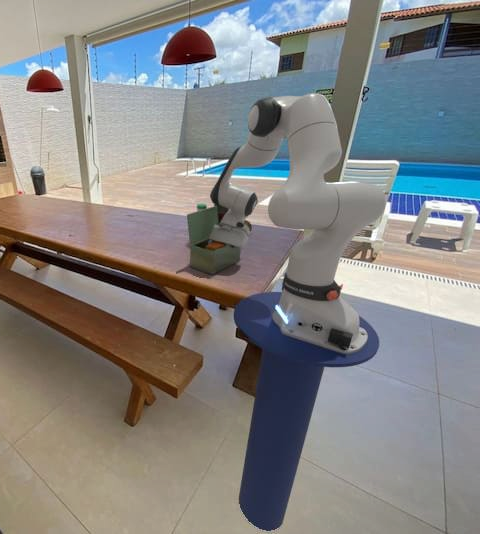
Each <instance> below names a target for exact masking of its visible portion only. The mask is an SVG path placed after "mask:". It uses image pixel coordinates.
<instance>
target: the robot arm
mask: <svg viewBox="0 0 480 534" xmlns="http://www.w3.org/2000/svg"><path fill="white" fill-rule="evenodd" d="M247 126H248V130H249V134H248V137H247V139H246V142H245V143H244V144H243V145H242V146H238V147H236V149H235V150H234V151H233V152H232V154H231V155H230V157H229V158H228V160H227V162H226V164H225V166H224V167H223V169H222V171H221V173H220V175H219V177H218V179H217V181H216V183H215V184H214V185H213V187H212V188H211V190H210V193H209V199H210V200H211V202H212V203H213V205H214V204H216V205H220V206H223V207H226V208H228V212H227V213H226V214H225V215H224V217H223V219H222V220H221V222H220V223H217V225H214V227H213V230H212V231H211V233H210V236H209V238H206V239H210V240H209V242H208V245H209V244H211V243H214V242H216V241H217V242H221V243H225V244H227V245H229V244H231V245H233V246H234V249H238V250H241V251H243V250H244V249H245V248H246V246H247V245H248V242H249V237H250V235H251V232H250V230H249V228H248V227H247V225H246V224H244V220H247V218H248V217H250V215H252V213H253V211H254V210H255V208H256V206H257V204H258V201H259V200H258V196H257V194H256V192H255V191H252V190H250V189H247V188H245V187H242V186H239V185H237V184H234V183H232V182H231V181H230V180H231V178H232V176H233V175H234V173H235V171H236V170H238V169H241V168H242V169H243V168H261V167H264V166H266V165H268V164H269V163H271V162H273V161H274V159H275V158H276V156H277V154H279V151H280V149H281V147H282V145H283V142H284V139H286V143H287V149H288V156H289V172H288V176H287V178H286V180H285V182H284V183H283V184H282V186H280V187H279V188H278V189H276V191H274V193H272V195H271V197H270V199H269V201H268V204H267V205H268V206H267V214H268V217H269V219H270V221H271V223H273V225H274V226H276V227H278V228H284V229H290V230H298V231H299V230H312V231H311V232H310V233H309V234H308V235H307V236H306V237H305V238H303V239H301V240H299V241H298V242H296V243H295V244H294V245H293V246H292V247H291V249H290V250H289V251H290V252H289V257H288V261H287V267H286V272H285V273H284V274H283V279H282V282H281V283H282V284H281V292H282V295H281V298H280V301H279V303H278V306H277V305H276V310H275V311H274V313H273V316H272V317H273V320H274V322H275V323H276V324H277V325H278V326H279V327H280V330H281V333H282V334H284V335H287V336H290V337H293V338H296V339H299V340H302V341H305V342H308V343H312V344H315V345H318V346H321V347H324V348H327V349H330V350H333V351H336V352H340V353H343V354H353V353H356V352H358V351H360V350H361V349H362V348H363V347H364V346H365V344H366V343H367V338H368V335H367V332H366V331H365V329H363V328H361V327H359V324H360V322H359V316H360V315H359V313H358V312H357V310H355V309H354V308H353V307H352V306H351V305H350V304H349V303H347V302H346V301H345V299H344V298H342V297H341V296H340V295H341V291H342V290H343V287H344V283H341V284H340V285H339V284H338V283H337V282H336V280H335V278H336V274H337V271H338V267H339V264H340V260H341V257H342V256H343V254H344V251H345V250H346V248H347V247H348V245H349V244H350V243H351V242H352V241H353V239H354V238H355V237H356V236H357V235H358V234H359V233H360V232H361V231H363V230H364V229H365V228H367V227H368V226H370V225H372V224H373V223H375V222H376V221H378V220H379V219H380V218H381V216H382V215H383V214H384V211H385V210H386V206H387V197H386V194H385V192H384V190H383V189H382V187H381V186H380V185H377V184H373V183H368V182H362V181H361V182H360V181H344V182H343V181H341V182H326V181H325V177H324V176H325V174H326V173H328V172H329V171H331V170H333V169H334V168H335V167H336V166H337V165H338V163H339V162H340V161H341V158H342V156H343V149H342V144H341V138H340V135H339V129H338V124H337V120H336V117H335V115H334V112H333V109H332V106H331V103H330V101H329V100H328V99H327V98H326V96H324V95H323V94H321V93H316V92H313V93H307V94H304V95H283V96H282V95H281V96H274V97H271V96H268V97H264V98H260V99H257V100H256V102H254V103H253V105H252V106H251V108H250V111H249V114H248V120H247ZM206 239H204V240H206ZM227 245H226V246H227Z"/></svg>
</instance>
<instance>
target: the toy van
mask: <svg viewBox="0 0 480 534" xmlns="http://www.w3.org/2000/svg"><path fill="white" fill-rule="evenodd" d="M226 245H227V244H225V243H221V242H217V241H216V242H214V243H211V244H209V245H206V246H205V249H208V250H212V251H215V250H217V249H220V248H222V247H224V246H226Z"/></svg>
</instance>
